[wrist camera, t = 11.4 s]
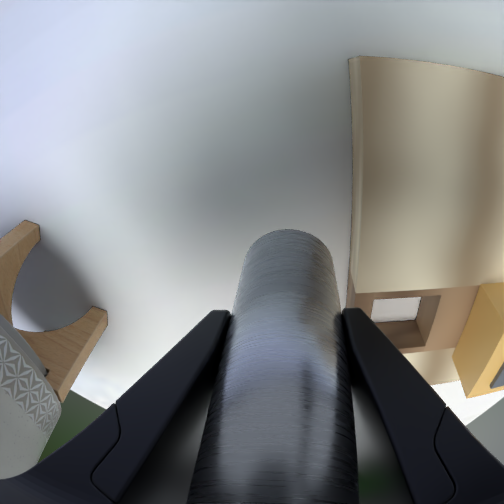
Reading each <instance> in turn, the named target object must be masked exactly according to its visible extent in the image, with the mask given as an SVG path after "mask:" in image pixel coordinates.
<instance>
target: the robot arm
mask: <svg viewBox="0 0 504 504" xmlns="http://www.w3.org/2000/svg"><path fill="white" fill-rule="evenodd" d="M230 318H231V314H230V312H229V311H228V310H213V311H211V312H210V313H209V314H208V315H207V316H206V317H204V318H203V319H202V320H201V321H200V322H199V323H198V324H197V325H196V326H195V327H194V328H193V329H192V330H191V331H190V332H189V333H188V334H187V335H186V336H185V337H183V338H182V339H181V340H180V341H179V342H178V343H177V344H176V345H175V346H174V347H173V348H172V349H171V350H170V351H169V352H168V353H167V354H166V355H164V356H163V357H162V358H161V359H160V360H159V361H158V362H157V363H156V364H155V365H154V366H153V367H152V368H151V369H150V370H149V371H147V372H146V373H145V374H144V375H143V376H142V377H141V378H140V379H139V380H138V381H137V382H136V383H135V384H134V385H133V386H131V387H130V388H129V389H128V390H127V391H126V392H125V393H124V394H123V395H122V396H121V397H120V398H119V399H118V400H116V404H115V403H113V404H112V405H111V406H110V407H109V408H108V409H107V410H105V411H104V412H103V413H102V414H101V415H100V416H99V417H98V418H96V419H95V421H93V422H92V423H91V424H90V425H88V426H87V427H86V428H85V429H84V430H82V431H81V432H80V433H78V434H77V435H76V436H75V437H74V438H72V439H71V440H69V441H68V442H67V443H65V444H64V445H63V446H61V447H60V448H58V449H57V450H56V451H54V452H53V453H51V454H50V455H49V456H47V457H46V458H45V459H43V460H42V461H40V462H39V463H37V464H36V465H35V466H33V467H32V468H30V469H29V470H27V471H25V472H23V473H21V474H19V475H16V476H14V477H10V478H6V479H0V504H186V502H187V498H188V494H189V489H190V485H191V481H192V477H193V472H194V468H195V464H196V460H197V456H198V451H199V447H200V443H201V439H202V435H203V430H204V426H205V422H206V418H207V414H208V409H209V405H210V401H211V397H212V393H213V389H214V385H215V380H216V376H217V372H218V368H219V364H220V360H221V356H222V351H223V347H224V343H225V339H226V335H227V331H228V327H229V323H230ZM342 321H343V328H344V335H345V342H346V349H347V357H348V365H349V372H350V381H351V390H352V399H353V410H354V420H355V432H356V445H357V460H358V479H359V504H504V465H503V464H502V463H501V462H500V461H499V460H498V459H497V458H496V457H494V456H493V455H492V454H491V453H490V452H489V451H488V450H487V449H486V448H485V447H484V446H483V445H482V444H481V443H480V442H479V441H478V440H477V439H476V438H475V437H474V435H473V434H472V433H471V432H470V431H469V430H468V429H467V428H466V427H465V425H464V424H463V423H462V422H461V421H460V420H459V419H458V417H457V416H456V415H455V414H454V413H453V411H452V410H451V409H450V408H449V407H448V406H447V407H446V403H445V402H444V401H443V400H442V399H441V398H440V396H439V395H438V394H437V393H436V392H435V391H434V389H433V388H432V387H431V386H430V385H429V384H428V382H427V381H426V380H425V379H424V378H423V377H422V376H421V374H420V373H419V372H418V371H417V370H416V369H415V368H414V366H413V365H412V364H411V363H410V362H409V361H408V360H407V359H406V357H405V356H404V355H403V354H402V353H401V352H400V351H399V350H398V348H397V347H396V346H395V345H394V344H393V343H392V342H391V341H390V339H389V338H388V337H387V336H386V335H385V334H384V333H383V332H382V331H381V330H380V328H379V327H378V326H377V325H376V324H375V323H374V322H373V321H372V320H371V319H370V318H369V316H368V315H367V314H366V313H365V312H364V311H363V310H362V309H361V308H359V307H354V308H344V309H343V310H342Z"/></svg>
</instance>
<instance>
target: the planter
mask: <svg viewBox="0 0 504 504" xmlns="http://www.w3.org/2000/svg"><path fill="white" fill-rule="evenodd" d="M39 241H40V232H39V225H38V224H35V223H32V222H29V221H26V220H24V221H23V222H21V223H20V224H19V225H18V226H16V227H15V228H14V229H12V230H11V231H10V232H9V233H7V234H6V235H5V236H4V237H2V238H1V239H0V479H6V478H10V477H14V476H16V475H19V474H21V473H23V472H25V471H27V470H29V469H30V468H32V467H33V466H35V465H36V464H37V461H38V460H39V457H40V455H41V453H42V451H43V449H44V447H45V445H46V443H47V441H48V439H49V436H50V435H51V433H52V431H53V429H54V427H55V425H56V422H57V421H58V418H59V417H60V415H61V406H60V402H62V403H63V401H64V399H65V398H66V396H67V394H68V392H69V390H70V388H71V387H72V385H73V383H74V381H75V379H76V378H77V376H78V374H79V372H80V371H81V369H82V367H83V365H84V364H85V362H86V360H87V358H88V357H89V355H90V353H91V352H92V350H93V348H94V347H95V345H96V343H97V341H98V340H99V338H100V336H101V335H102V333H103V332H104V330H105V328H106V327H107V325H108V323H107V311H104V310H102V309H99V308H96V307H94V306H92V308H91V309H90V310H89V311H88V312H87V313H86V314H85V315H84V316H83V317H81V318H80V319H79V320H77V321H76V322H74V323H72V324H70V325H68V326H66V327H63V328H61V329H57V330H53V331H44V332H28V331H23V330H19V329H16V328H14V327H13V323H12V315H11V304H12V295H13V290H14V286H15V282H16V279H17V276H18V273H19V271H20V268H21V266H22V264H23V262H24V260H25V259H26V257H27V255H28V254H29V252H30V251H31V249H32V248H33V247H34V246H35V245H36V244H37V243H38V242H39ZM59 401H60V402H59Z"/></svg>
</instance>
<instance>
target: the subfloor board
mask: <svg viewBox="0 0 504 504" xmlns="http://www.w3.org/2000/svg"><path fill="white" fill-rule="evenodd" d="M348 62H349V75H350V91H351V112H352V151H353V183H352V223H351V245H350V261H349V276H348V288H347V300H346V308H354V307H359V308H361V309H362V310H363V311H364V312H365V313H366V314H367V315H368V316H369V318H371V312H372V306H373V300H374V299H392V298H408V297H422V298H421V302H420V306H419V309H418V313H417V317H416V320H410V321H397V322H383V323H375V324H376V325H377V326H378V327H379V328H380V330H381V331H382V332H383V333H384V334H385V335H386V336H387V337H388V338H389V339H390V341H391V342H392V343H393V344H394V345H395V346H396V347H397V348H398V350H399V351H400V352H401V353H402V354H403V355H404V356H405V357H406V359H407V360H408V361H409V362H410V363H411V364H412V365H413V366H414V368H415V369H416V370H417V371H418V372H419V373H420V374H421V376H422V377H423V378H424V379H425V380H426V381H427V382H428V384H429V385H435V384H442V383H448V382H453V381H459V380H460V378H459V375H458V373H457V370H456V367H455V364H454V362H453V359H452V355H453V353H454V351H455V348H456V346H457V344H458V342H459V339H460V337H461V335H462V332H463V330H464V327H465V325H466V322H467V320H468V317H469V315H470V312H471V309H472V307H473V304H474V301H475V298H476V295H477V293H478V290H479V287H480V284H489V283H500V282H504V77H502V76H498V75H494V74H490V73H485V72H481V71H476V70H472V69H467V68H462V67H456V66H451V65H445V64H438V63H432V62H425V61H417V60H408V59H398V58H386V57H371V56H357V57H354V58H351V59H348Z"/></svg>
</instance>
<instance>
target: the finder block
mask: <svg viewBox="0 0 504 504" xmlns="http://www.w3.org/2000/svg"><path fill="white" fill-rule="evenodd" d="M452 359H453V362H454V364H455V367H456V370H457V373H458V375H459V378H460V381H461V384H462V387H463V390H464V393H465V396H466V399H467V398H471V397H476V396H480V395H484V394H488V393H492V392H496V391H500V390H504V282H500V283H489V284H480V287H479V290H478V293H477V295H476V298H475V301H474V304H473V307H472V309H471V312H470V315H469V317H468V320H467V322H466V325H465V327H464V330H463V332H462V335H461V337H460V339H459V342H458V344H457V346H456V348H455V351H454V353H453V355H452Z"/></svg>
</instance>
